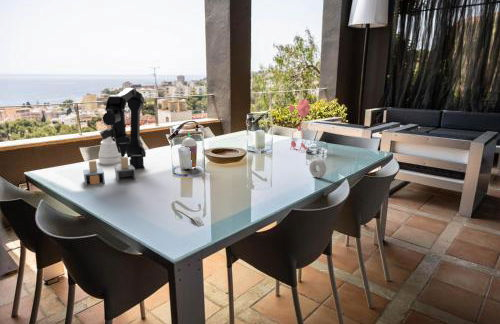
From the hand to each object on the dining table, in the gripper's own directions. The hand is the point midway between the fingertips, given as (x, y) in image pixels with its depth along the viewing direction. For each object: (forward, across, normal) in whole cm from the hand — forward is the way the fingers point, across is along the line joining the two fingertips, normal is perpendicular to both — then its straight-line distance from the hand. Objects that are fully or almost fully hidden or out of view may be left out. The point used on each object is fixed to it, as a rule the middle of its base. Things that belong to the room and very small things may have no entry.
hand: (121, 154), depth 164 cm
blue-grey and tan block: (+12, 0, -13) cm, 18 cm away
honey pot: (+12, -39, 0) cm, 41 cm away
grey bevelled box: (+12, 0, +1) cm, 12 cm away
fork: (+13, +58, +13) cm, 61 cm away
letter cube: (+12, 0, -13) cm, 18 cm away
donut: (+12, +42, +87) cm, 97 cm away
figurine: (+12, -15, +120) cm, 122 cm away
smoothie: (+12, -3, +35) cm, 37 cm away
